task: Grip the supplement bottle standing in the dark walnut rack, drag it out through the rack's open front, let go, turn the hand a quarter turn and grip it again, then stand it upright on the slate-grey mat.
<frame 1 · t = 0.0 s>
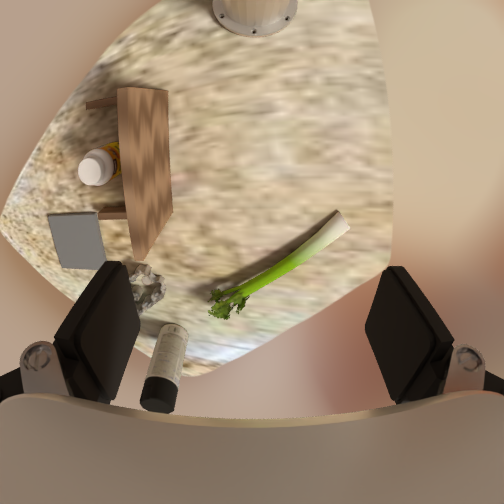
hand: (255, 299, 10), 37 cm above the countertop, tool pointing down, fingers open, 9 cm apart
walnut rack: (128, 155, 42), on the countertop
green celery stalk: (273, 260, 53), on the countertop
slate mat: (78, 241, 50), on the countertop
supplement bottle: (118, 156, 42), on the countertop
spray can: (174, 332, 61), on the countertop
egg carton: (143, 284, 55), on the countertop
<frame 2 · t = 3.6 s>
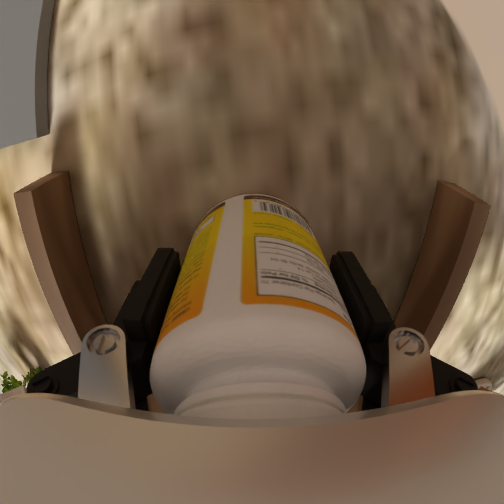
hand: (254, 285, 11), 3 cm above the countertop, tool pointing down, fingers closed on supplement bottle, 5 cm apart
walnut rack: (252, 282, 14), on the countertop
green celery stalk: (108, 429, 26), on the countertop
supplement bottle: (253, 244, 14), on the countertop, touching gripper
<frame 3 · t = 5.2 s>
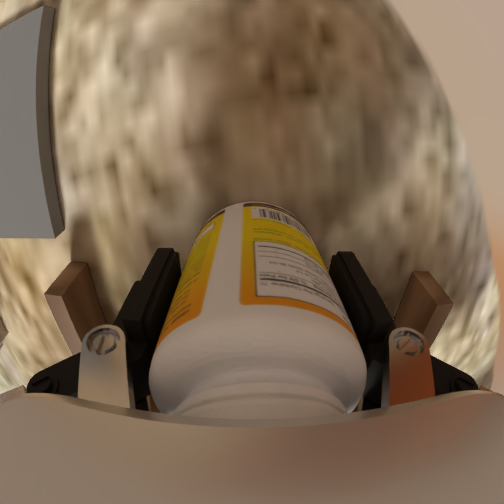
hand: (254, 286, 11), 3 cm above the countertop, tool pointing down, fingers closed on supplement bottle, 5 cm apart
walnut rack: (248, 351, 17), on the countertop
supplement bottle: (253, 252, 14), on the countertop, touching gripper
when the fingers open (3 cm above the countertop, at t = 6.6 s): supplement bottle stays where it is, on the countertop.
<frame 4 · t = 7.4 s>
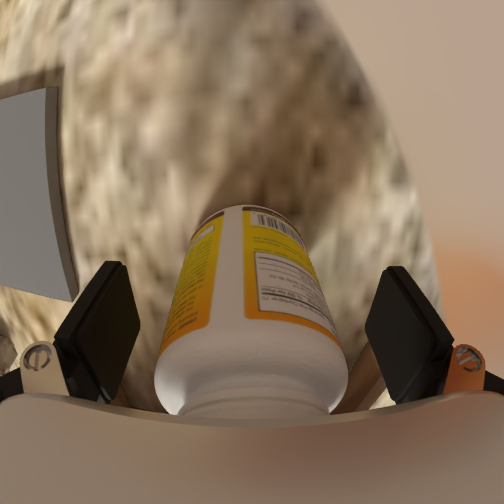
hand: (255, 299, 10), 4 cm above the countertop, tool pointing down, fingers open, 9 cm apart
walnut rack: (228, 388, 20), on the countertop
supplement bottle: (246, 251, 14), on the countertop
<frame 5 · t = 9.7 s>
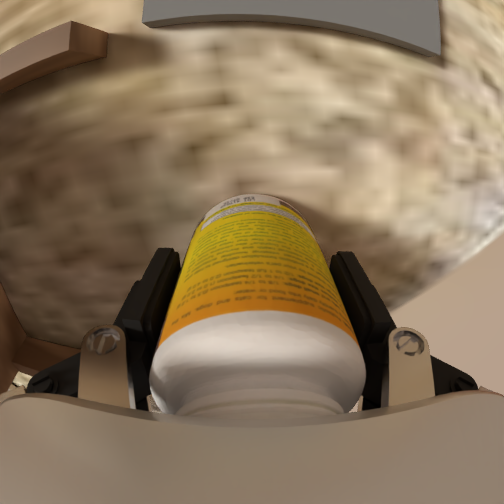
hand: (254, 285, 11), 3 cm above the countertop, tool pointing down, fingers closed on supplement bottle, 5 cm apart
walnut rack: (36, 241, 13), on the countertop
supplement bottle: (252, 245, 13), on the countertop, touching gripper
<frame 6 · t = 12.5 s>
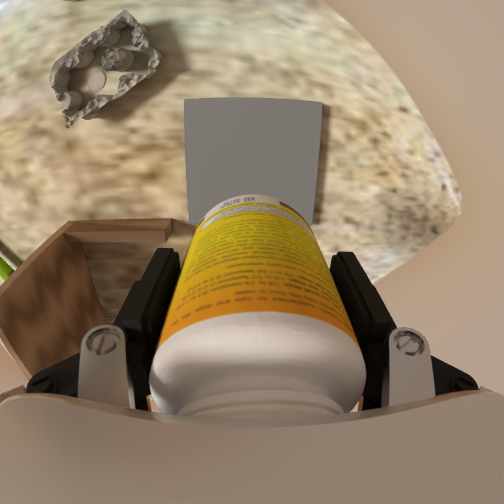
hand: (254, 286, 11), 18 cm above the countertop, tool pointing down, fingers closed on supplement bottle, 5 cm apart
walnut rack: (136, 295, 33), on the countertop
slate mat: (252, 161, 26), on the countertop
supplement bottle: (252, 245, 13), point 15 cm above the countertop, touching gripper
egg carton: (110, 70, 21), on the countertop
when the fingers open (5 cm above the countertop, at t = 15.3 s): supplement bottle drops 1 cm, resting on slate mat.
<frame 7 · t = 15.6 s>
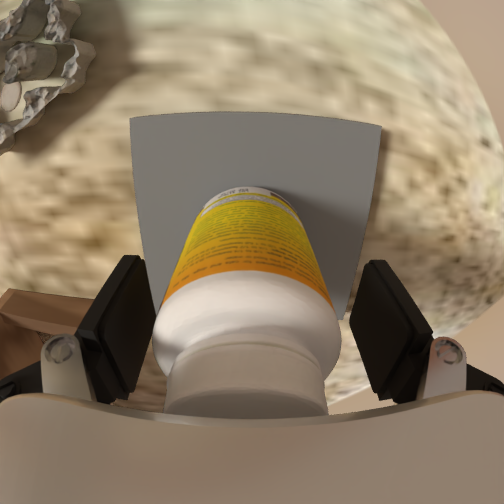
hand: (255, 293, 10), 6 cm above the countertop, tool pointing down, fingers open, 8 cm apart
walnut rack: (103, 378, 23), on the countertop
slate mat: (253, 225, 15), on the countertop
supplement bottle: (247, 234, 15), point 1 cm above the countertop, touching slate mat
egg carton: (29, 76, 11), on the countertop
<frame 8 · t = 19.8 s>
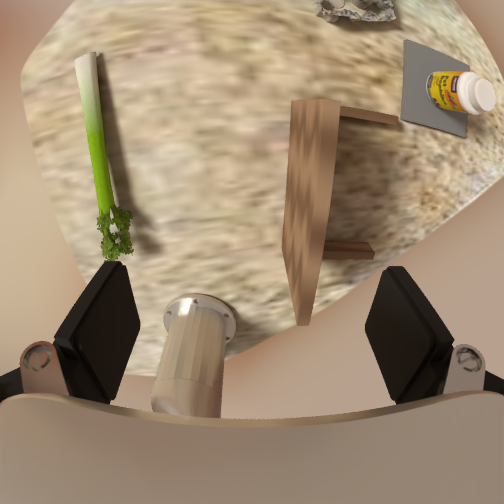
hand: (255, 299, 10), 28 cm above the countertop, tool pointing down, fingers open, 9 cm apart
walnut rack: (339, 181, 36), on the countertop
green celery stalk: (102, 154, 34), on the countertop
slate mat: (436, 89, 29), on the countertop
supplement bottle: (438, 90, 28), point 1 cm above the countertop, touching slate mat
egg carton: (346, 1, 24), on the countertop
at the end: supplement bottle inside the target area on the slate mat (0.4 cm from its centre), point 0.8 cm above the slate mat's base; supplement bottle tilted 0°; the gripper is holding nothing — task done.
